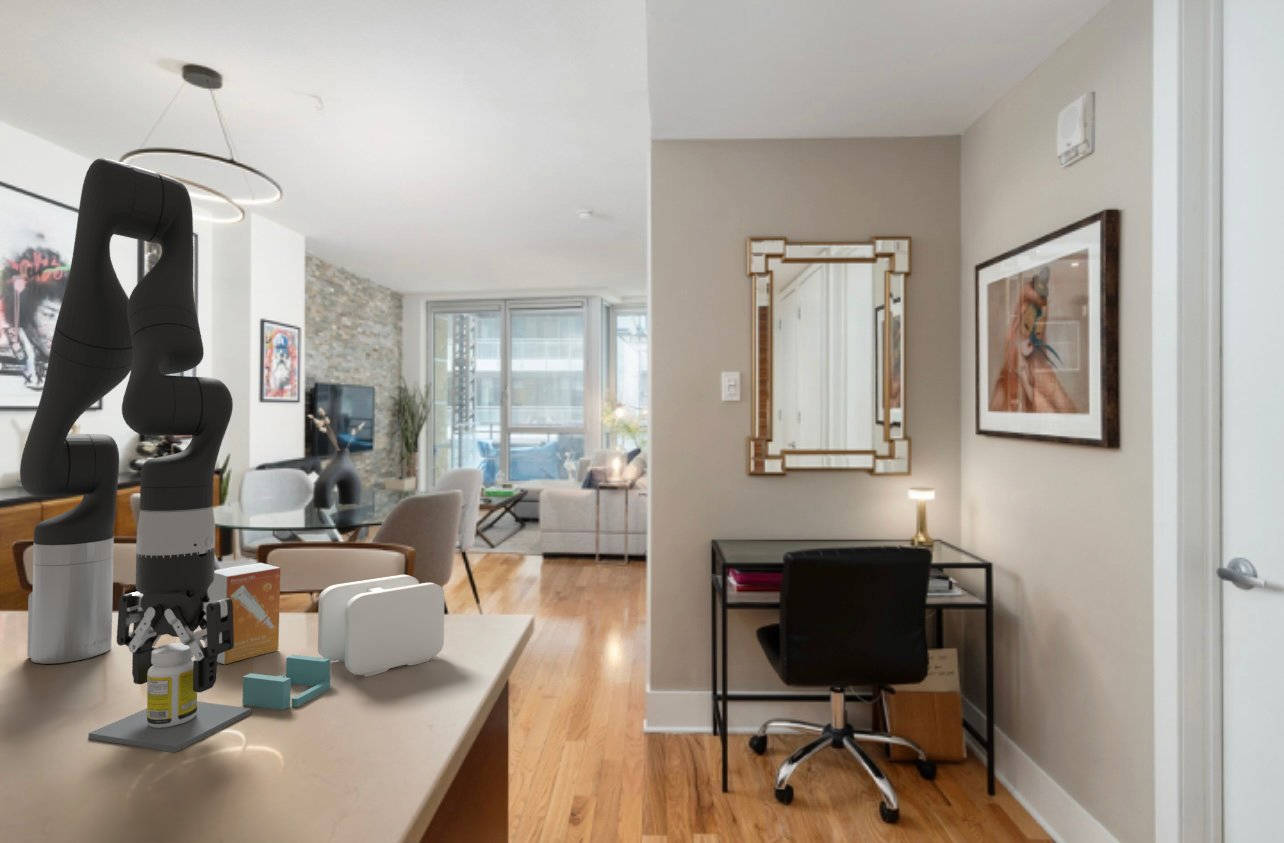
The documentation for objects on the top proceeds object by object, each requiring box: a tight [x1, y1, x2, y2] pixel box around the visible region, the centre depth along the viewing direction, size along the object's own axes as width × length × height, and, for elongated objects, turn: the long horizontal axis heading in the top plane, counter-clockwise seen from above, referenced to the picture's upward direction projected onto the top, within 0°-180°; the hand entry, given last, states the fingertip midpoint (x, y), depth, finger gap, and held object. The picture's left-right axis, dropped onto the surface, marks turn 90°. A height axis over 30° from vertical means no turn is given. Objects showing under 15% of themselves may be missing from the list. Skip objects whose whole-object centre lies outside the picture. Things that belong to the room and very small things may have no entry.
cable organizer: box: [317, 574, 445, 677], centre depth 99 cm, size 15×11×12 cm
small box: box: [204, 562, 281, 665], centre depth 102 cm, size 8×6×13 cm
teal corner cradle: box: [242, 654, 331, 711], centre depth 87 cm, size 8×8×4 cm
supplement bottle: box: [146, 641, 198, 728], centre depth 77 cm, size 5×5×8 cm
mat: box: [88, 700, 252, 753], centre depth 77 cm, size 12×10×1 cm
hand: (174, 685), depth 77 cm, fingers open, 8 cm apart
